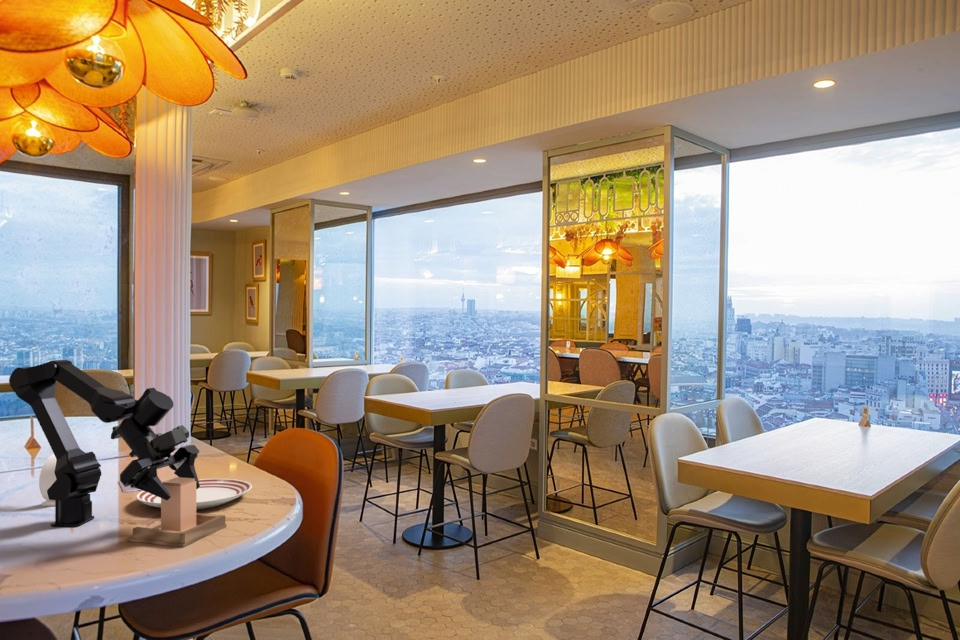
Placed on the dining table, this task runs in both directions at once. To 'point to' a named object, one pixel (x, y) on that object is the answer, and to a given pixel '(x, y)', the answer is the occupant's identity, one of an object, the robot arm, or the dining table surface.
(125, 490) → the mobile phone
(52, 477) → the headphone stand
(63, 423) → the robot arm
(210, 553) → the dining table surface
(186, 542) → the square wooden tray
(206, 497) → the dinner plate
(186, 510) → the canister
